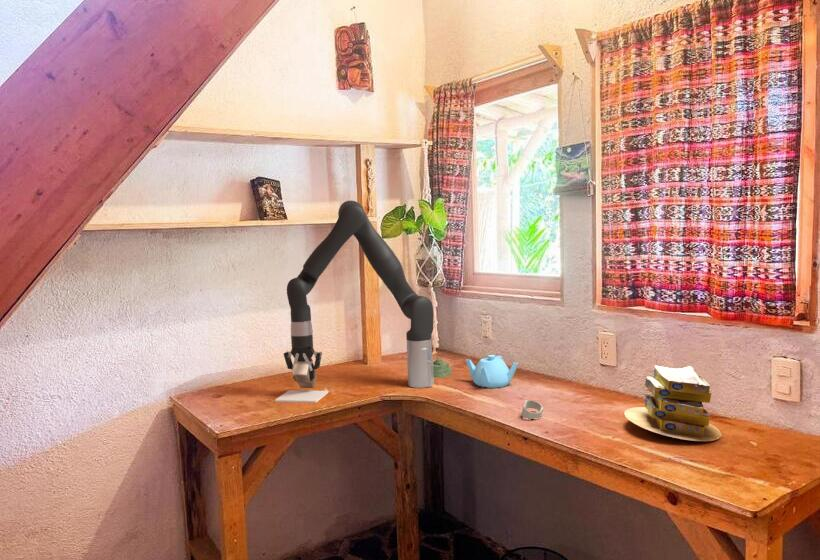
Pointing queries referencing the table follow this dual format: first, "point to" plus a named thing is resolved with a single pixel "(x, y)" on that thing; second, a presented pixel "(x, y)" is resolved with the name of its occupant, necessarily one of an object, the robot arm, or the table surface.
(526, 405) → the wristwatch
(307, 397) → the white mat
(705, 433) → the stacked boxes on plate
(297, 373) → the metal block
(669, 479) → the table surface
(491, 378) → the teapot
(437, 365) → the decorative artifact
